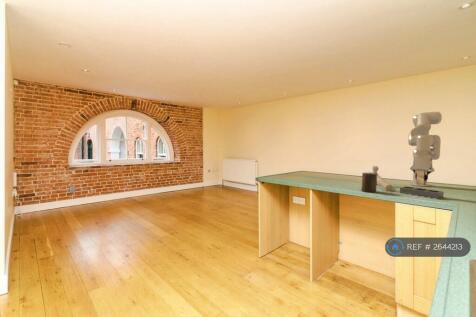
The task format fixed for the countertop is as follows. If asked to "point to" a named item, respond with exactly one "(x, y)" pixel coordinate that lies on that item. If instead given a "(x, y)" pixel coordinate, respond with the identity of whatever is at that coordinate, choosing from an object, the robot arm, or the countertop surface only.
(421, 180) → the peg
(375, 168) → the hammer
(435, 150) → the robot arm
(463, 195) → the countertop surface
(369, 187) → the pillar candle
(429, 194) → the rail
